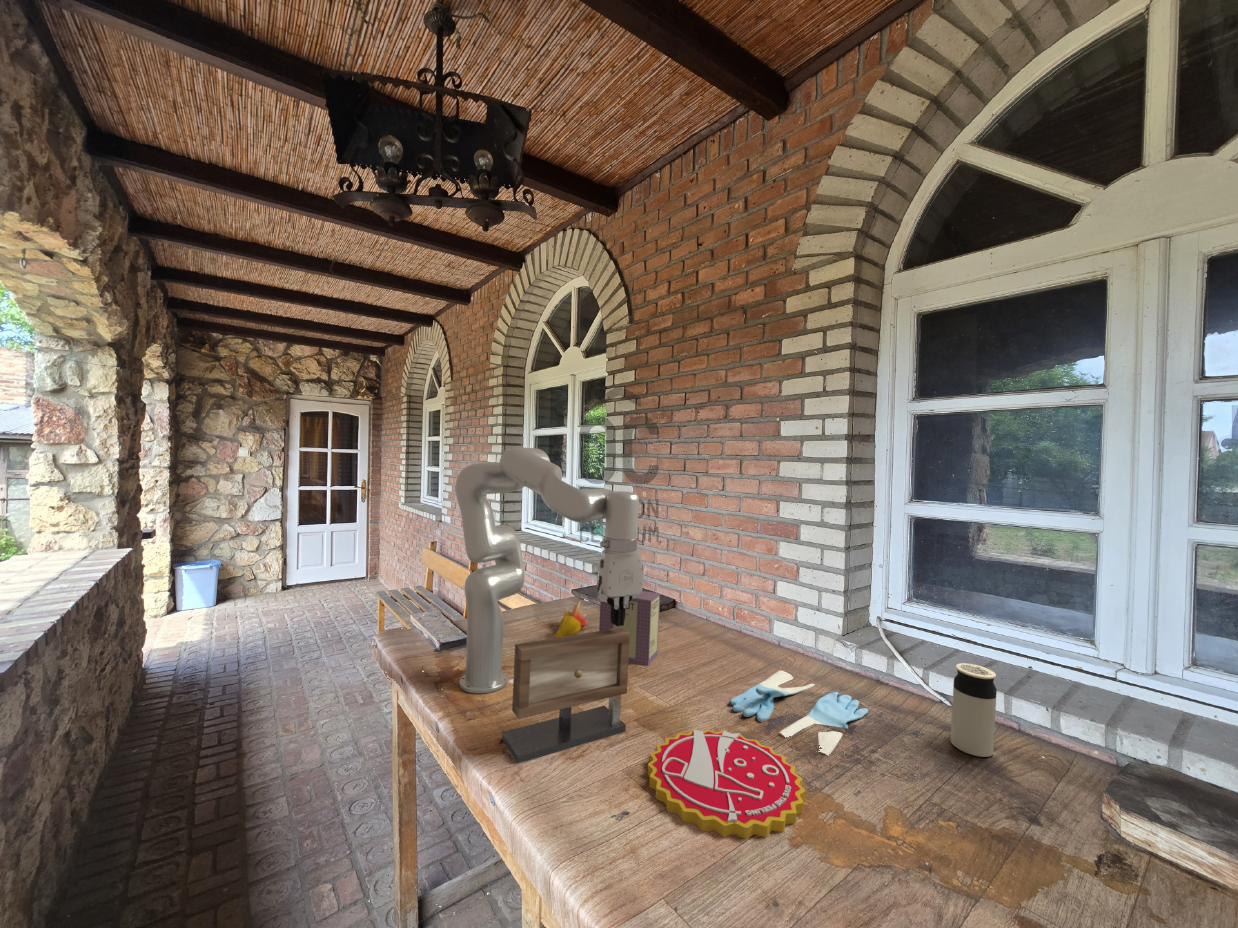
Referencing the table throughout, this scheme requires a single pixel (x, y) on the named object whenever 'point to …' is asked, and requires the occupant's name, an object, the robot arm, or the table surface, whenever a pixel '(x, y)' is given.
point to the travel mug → (973, 710)
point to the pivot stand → (564, 731)
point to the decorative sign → (726, 783)
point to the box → (638, 626)
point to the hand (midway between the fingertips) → (617, 623)
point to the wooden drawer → (569, 671)
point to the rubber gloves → (824, 712)
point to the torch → (571, 622)
